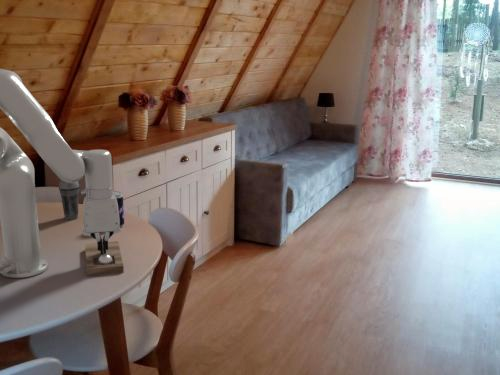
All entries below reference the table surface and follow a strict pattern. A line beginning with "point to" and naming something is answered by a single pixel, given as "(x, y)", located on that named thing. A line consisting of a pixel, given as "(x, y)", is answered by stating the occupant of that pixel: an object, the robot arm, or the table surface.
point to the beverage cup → (69, 199)
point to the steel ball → (105, 259)
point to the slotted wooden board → (93, 258)
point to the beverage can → (120, 206)
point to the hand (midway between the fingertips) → (103, 252)
